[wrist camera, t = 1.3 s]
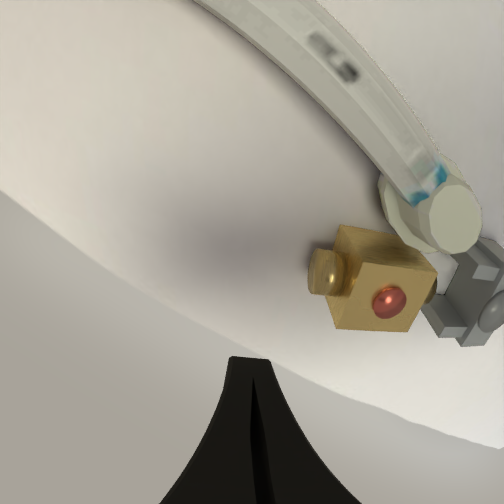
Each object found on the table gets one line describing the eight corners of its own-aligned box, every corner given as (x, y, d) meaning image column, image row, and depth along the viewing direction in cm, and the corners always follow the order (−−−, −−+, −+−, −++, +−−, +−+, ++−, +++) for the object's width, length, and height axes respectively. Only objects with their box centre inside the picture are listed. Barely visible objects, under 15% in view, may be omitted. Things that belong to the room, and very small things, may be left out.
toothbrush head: (166, -118, 5) (522, 240, 11) (195, -64, 12) (462, 203, 17) (84, -52, 7) (452, 306, 13) (136, -14, 13) (408, 252, 19)
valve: (423, 240, 19) (458, 278, 15) (400, 292, 22) (426, 335, 17) (316, 219, 19) (337, 261, 14) (299, 280, 21) (311, 330, 17)
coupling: (496, 241, 20) (532, 274, 15) (461, 311, 23) (488, 348, 19) (450, 229, 19) (489, 265, 15) (414, 308, 22) (440, 351, 18)
